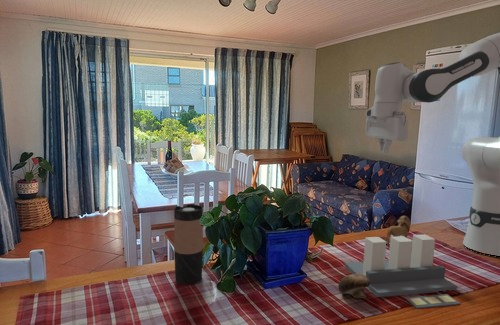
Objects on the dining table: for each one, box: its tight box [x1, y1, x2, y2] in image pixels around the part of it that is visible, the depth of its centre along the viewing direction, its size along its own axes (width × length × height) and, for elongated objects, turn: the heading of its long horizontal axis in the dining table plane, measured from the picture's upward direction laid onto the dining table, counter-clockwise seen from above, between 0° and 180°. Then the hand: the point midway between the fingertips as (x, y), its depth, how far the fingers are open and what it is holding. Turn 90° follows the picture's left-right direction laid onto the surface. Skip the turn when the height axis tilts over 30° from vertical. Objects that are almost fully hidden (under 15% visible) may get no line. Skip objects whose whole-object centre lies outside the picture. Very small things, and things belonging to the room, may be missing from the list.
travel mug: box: [173, 204, 204, 286], centre depth 93 cm, size 8×8×20 cm
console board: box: [344, 259, 458, 298], centre depth 97 cm, size 23×18×4 cm
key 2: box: [410, 234, 436, 268], centre depth 98 cm, size 4×4×10 cm
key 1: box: [363, 236, 387, 274], centre depth 95 cm, size 4×4×10 cm
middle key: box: [388, 235, 413, 269], centre depth 96 cm, size 4×4×10 cm
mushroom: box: [337, 273, 370, 299], centre depth 87 cm, size 8×8×6 cm
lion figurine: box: [384, 215, 411, 247], centre depth 124 cm, size 15×5×9 cm, turn 135°
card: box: [404, 293, 461, 310], centre depth 85 cm, size 12×4×1 cm, turn 101°
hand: (383, 152), depth 119 cm, fingers closed
